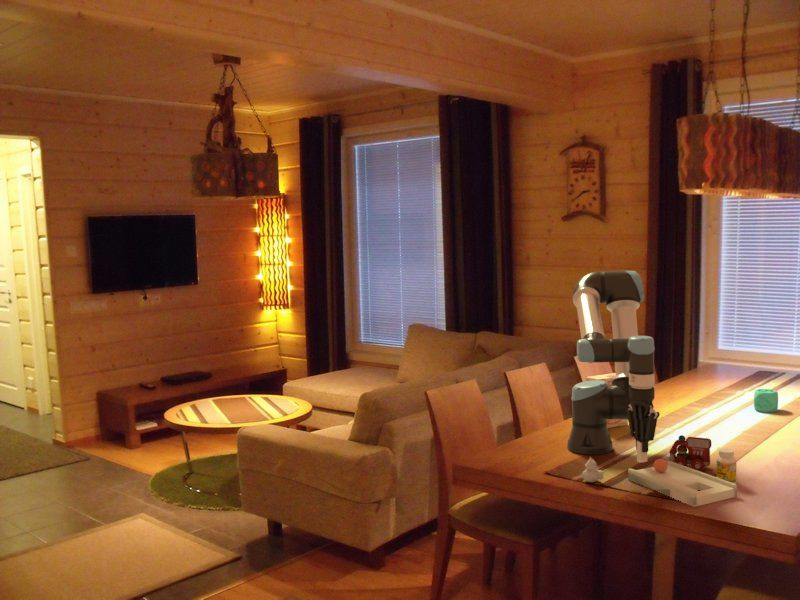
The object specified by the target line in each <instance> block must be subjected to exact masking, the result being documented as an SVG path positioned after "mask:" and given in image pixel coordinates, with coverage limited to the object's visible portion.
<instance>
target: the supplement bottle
mask: <svg viewBox="0 0 800 600" xmlns="http://www.w3.org/2000/svg"><path fill="white" fill-rule="evenodd" d="M718 455H719V456H717V458H716V477H717V478H720V479H723V480H726V481H728V482H731V483H734V484H737V459H736V458H735V457H734V455H735V453H734V450H733V449H729V448H721V449H719V450H718Z"/></svg>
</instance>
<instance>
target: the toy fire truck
mask: <svg viewBox="0 0 800 600" xmlns="http://www.w3.org/2000/svg"><path fill="white" fill-rule="evenodd" d="M711 448H712V439H710V438H709V437H708V438H707V437H696V436H695V437H694V436H688V437H687V438H686V437H685V435H682V434H681V435H679V436H678V439H677V440H675V441H674V442H673V444H672V446H671V448H670V450H669V461H672V462H674V463H677V464H680V465H683V466H686V467H688V466H689V465H690V468H692V469H694V470H697V471H700V472H703V471H704V470H705V468H707V467H709V466H710V465H711Z"/></svg>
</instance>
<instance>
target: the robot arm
mask: <svg viewBox="0 0 800 600" xmlns="http://www.w3.org/2000/svg"><path fill="white" fill-rule="evenodd" d="M571 296H572V298H571V299H572V302H573V305H574V307H575V308H576V311H577V319H578V325H579V331H580V338H581V339H578V340H577V341H576V357H577V358H576V359H577V361H578V362H580V363H589V364H594V363H595V364H596V363H597V364H598V363H614V370H615V372H614V373H616V376H615V377H614V378H613V379H612V385H607V383H606V382H605V381H602V380H591V381H586V380H585V381H582V382H581V381H580V382H578V383H576V384H574V386H573V387H572V389H571V402H572V403H571V407H572V408H571V409H572V414H571V415H572V416H571V417H572V418H571V422H572V423H571V424H572V426H571V429H570V433H569V438H568V440H567V449H568V451H571V452H573V453H574V454H575V453H576V454H581V455H604V454H605V455H606V454H608V453H610V452H612V451H613V441H612V439H611V438H612V437H611V435H610V433H609V428H607V419H628V426H629V432H630V436H631V437H632V438H634V440H635V449H636V462H638V463H640V464H641V463H646V462H648V452H649V442H652V441H654V440H655V434H656V429H657V422H658V418H659V416H660V414H661V413H660V412H659V411H656V410H655V409H654V405H653V403H654V402H653V401H654V400H655V391H656V390H655V387H654V386H655V385H656V384H655V381H656V380H655V350H656V349H655V348H656V346H655V340H654V337H653V336H649V335H639V333H638V321H637V310H638V309H639V308H640V306H641V303H642V302H644V299H645V293H644V285H643V280H642V277H641V275H640V274H639V272H638V271H636V270H609V271H603V270H602V271H592V272H588V273H586V274H585V275H584V276H582V277H581V278H580V279H579V280H578V281H577V282H576V284H575V285H574V286H573V290H572V294H571ZM599 304H605V308H606V309H607V310H608V311H609V312H610V314H611V317H610V318H611V327H612V328H611V329H612V338H606V337H605V336H606V335H605V330H604V325H603V322H602V321H603V320H602V315H601V310H600V305H599Z"/></svg>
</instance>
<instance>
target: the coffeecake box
mask: <svg viewBox="0 0 800 600" xmlns="http://www.w3.org/2000/svg"><path fill="white" fill-rule="evenodd" d="M615 376H616V373H615V372H611V373H606V374H598V375H597V374H596V375H591V376H586V377H585V381H591V380H602V381H605V382H606V383H607V385H612V379H613V378H614V377H615ZM621 426H622V427H623V426H629V422H628V419H607V429H611V428H616V427H621Z"/></svg>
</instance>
